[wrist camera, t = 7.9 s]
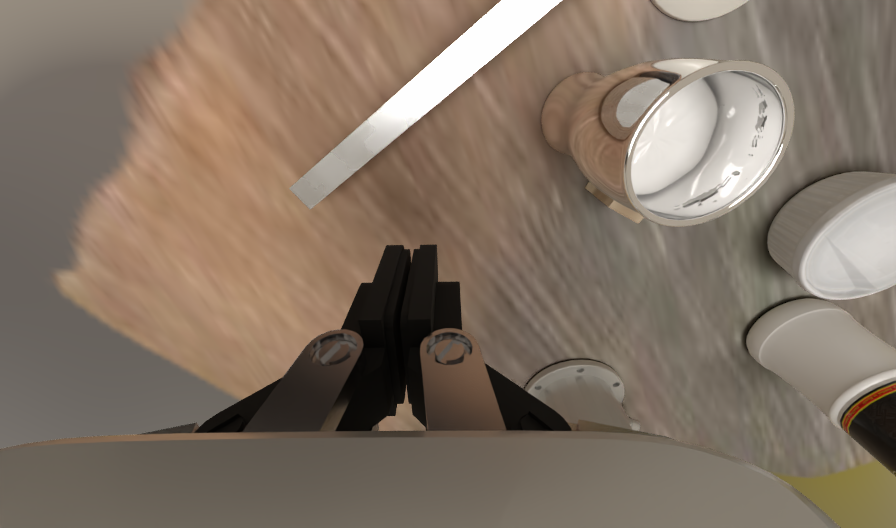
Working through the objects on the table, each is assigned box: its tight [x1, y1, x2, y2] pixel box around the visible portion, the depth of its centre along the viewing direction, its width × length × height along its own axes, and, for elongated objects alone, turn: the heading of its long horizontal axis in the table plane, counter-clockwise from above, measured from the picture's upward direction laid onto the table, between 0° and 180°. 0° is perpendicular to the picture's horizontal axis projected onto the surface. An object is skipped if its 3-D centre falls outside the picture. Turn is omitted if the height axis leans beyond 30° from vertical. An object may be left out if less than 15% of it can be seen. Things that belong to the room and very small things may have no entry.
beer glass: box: [541, 58, 795, 227], centre depth 20 cm, size 7×7×15 cm
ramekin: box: [767, 171, 896, 300], centre depth 29 cm, size 11×11×5 cm
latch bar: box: [289, 0, 562, 209], centre depth 21 cm, size 3×28×5 cm, turn 127°
